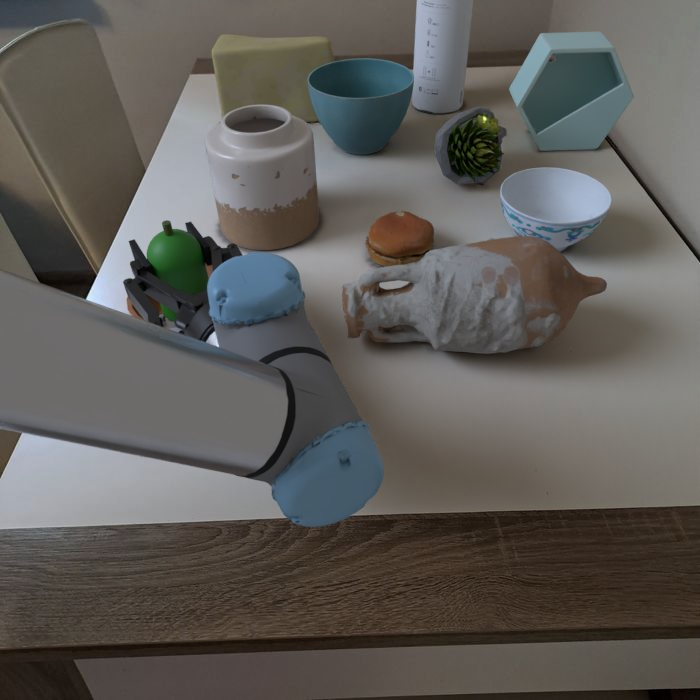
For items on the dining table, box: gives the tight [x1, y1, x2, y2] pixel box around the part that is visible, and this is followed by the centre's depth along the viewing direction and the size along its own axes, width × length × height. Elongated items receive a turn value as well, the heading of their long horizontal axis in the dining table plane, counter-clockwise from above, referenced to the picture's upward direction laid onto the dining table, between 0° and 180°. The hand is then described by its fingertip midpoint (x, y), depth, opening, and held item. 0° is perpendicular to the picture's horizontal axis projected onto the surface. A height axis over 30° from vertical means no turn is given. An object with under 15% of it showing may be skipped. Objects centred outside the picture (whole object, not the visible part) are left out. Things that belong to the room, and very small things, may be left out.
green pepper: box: [146, 219, 209, 321], centre depth 79 cm, size 7×7×13 cm
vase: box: [204, 104, 320, 251], centre depth 94 cm, size 15×15×17 cm
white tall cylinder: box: [411, 0, 474, 115], centre depth 121 cm, size 11×10×26 cm
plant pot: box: [308, 57, 414, 155], centre depth 114 cm, size 18×18×12 cm
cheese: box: [211, 33, 335, 123], centre depth 122 cm, size 22×10×15 cm, turn 87°
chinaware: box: [499, 166, 613, 253], centre depth 92 cm, size 15×15×8 cm
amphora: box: [341, 236, 608, 354], centre depth 76 cm, size 14×16×30 cm
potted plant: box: [433, 106, 508, 186], centre depth 104 cm, size 12×13×15 cm
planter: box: [508, 30, 635, 152], centre depth 111 cm, size 17×8×21 cm
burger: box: [365, 210, 435, 267], centre depth 92 cm, size 10×9×5 cm
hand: (162, 240), depth 82 cm, fingers closed on green pepper, 7 cm apart
